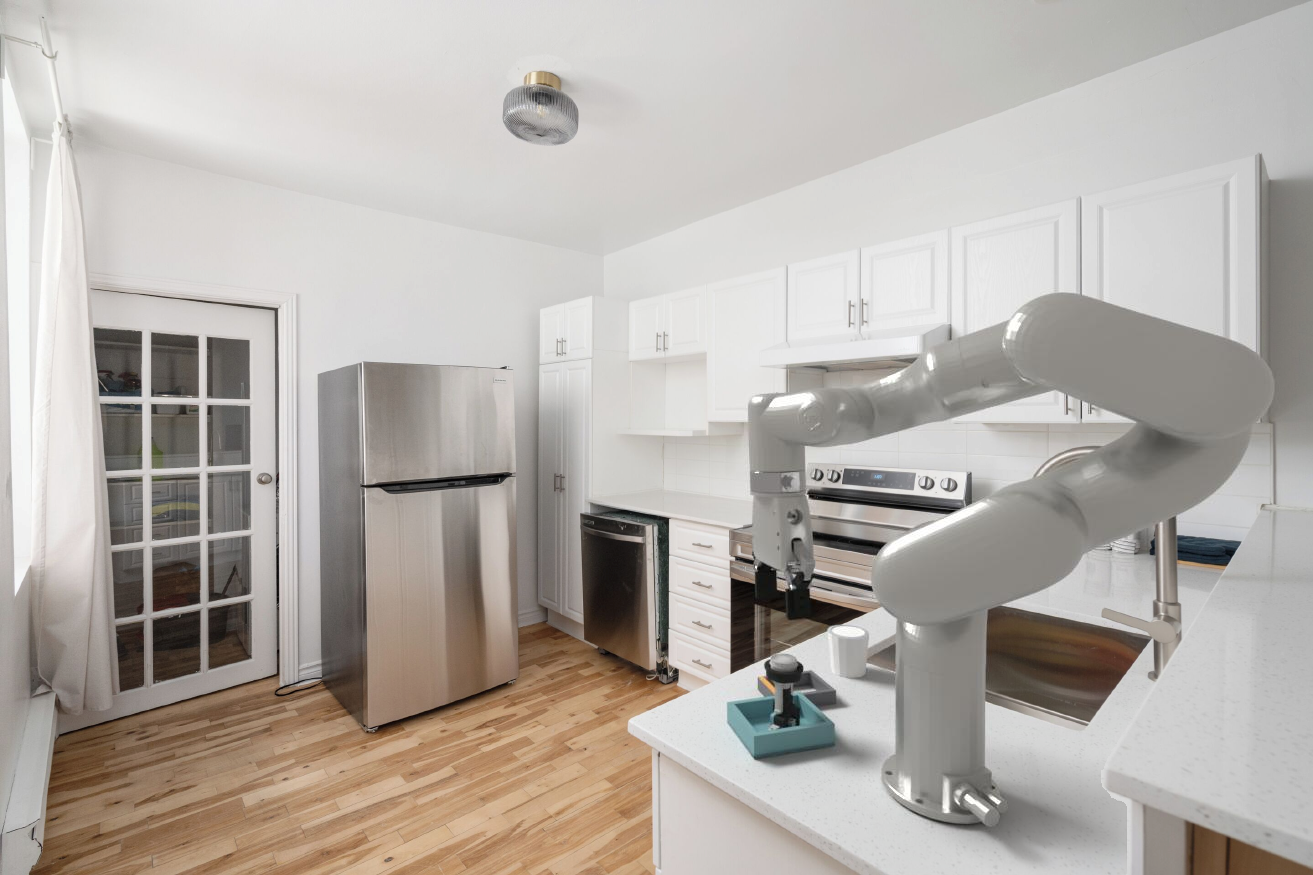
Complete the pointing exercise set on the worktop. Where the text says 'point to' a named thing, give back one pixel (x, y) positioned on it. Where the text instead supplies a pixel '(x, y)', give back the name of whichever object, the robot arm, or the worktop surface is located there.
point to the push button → (784, 689)
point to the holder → (819, 697)
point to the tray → (760, 742)
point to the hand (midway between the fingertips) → (781, 607)
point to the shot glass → (848, 650)
